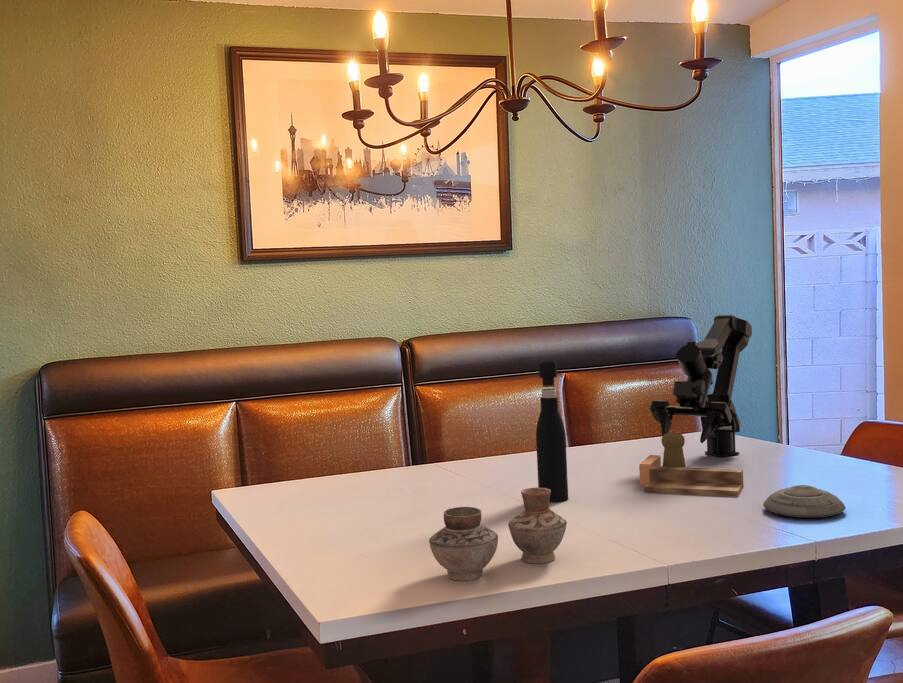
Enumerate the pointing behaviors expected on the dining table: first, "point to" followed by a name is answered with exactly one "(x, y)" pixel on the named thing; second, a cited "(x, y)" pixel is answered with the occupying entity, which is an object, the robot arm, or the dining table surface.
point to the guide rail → (689, 479)
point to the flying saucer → (804, 502)
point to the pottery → (474, 545)
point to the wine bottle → (551, 438)
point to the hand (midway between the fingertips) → (682, 440)
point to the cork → (673, 450)
